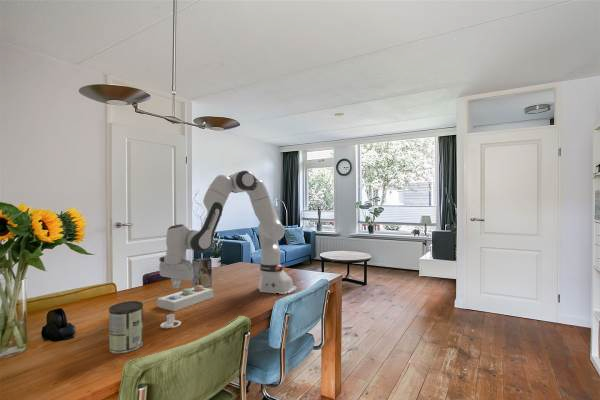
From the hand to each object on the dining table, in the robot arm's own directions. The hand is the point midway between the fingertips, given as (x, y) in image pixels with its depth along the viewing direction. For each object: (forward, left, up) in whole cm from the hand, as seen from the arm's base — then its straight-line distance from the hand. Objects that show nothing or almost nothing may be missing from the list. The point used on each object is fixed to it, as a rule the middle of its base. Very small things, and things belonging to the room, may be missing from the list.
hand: (176, 287), depth 149 cm
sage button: (0, -6, -6) cm, 9 cm away
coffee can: (-20, +37, -9) cm, 42 cm away
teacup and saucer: (-15, +19, -9) cm, 26 cm away
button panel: (0, -6, -9) cm, 11 cm away
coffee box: (+14, -29, -9) cm, 34 cm away
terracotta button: (0, -14, -6) cm, 15 cm away
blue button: (0, +1, -7) cm, 7 cm away
